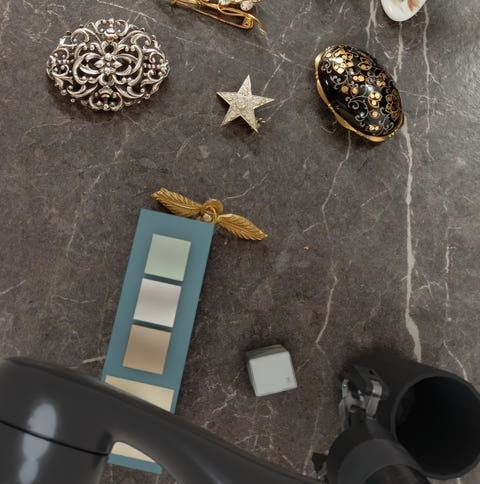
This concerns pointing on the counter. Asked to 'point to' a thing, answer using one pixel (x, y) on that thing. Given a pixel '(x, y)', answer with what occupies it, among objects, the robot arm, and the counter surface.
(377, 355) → the vase
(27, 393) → the robot arm
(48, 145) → the counter surface
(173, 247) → the block line
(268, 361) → the box
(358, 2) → the counter surface
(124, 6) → the counter surface
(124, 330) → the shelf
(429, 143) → the counter surface
